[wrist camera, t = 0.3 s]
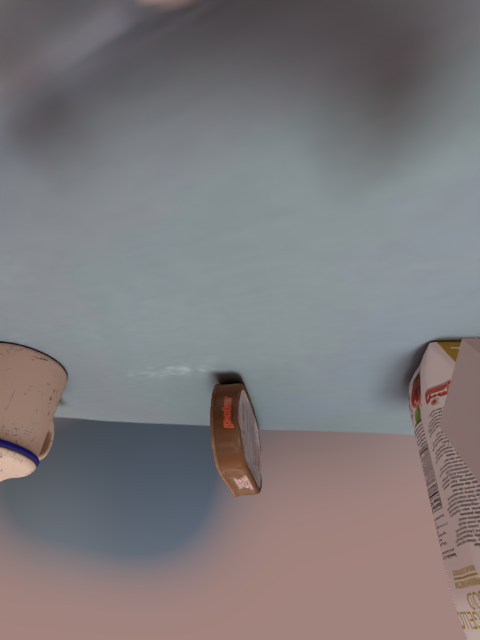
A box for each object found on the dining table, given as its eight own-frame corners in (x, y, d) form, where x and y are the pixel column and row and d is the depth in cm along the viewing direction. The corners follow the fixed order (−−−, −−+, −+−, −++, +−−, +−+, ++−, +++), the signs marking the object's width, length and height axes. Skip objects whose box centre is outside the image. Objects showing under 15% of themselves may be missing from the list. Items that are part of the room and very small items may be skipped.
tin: (211, 367, 36) (201, 460, 30) (245, 366, 35) (240, 460, 30) (240, 430, 47) (235, 505, 42) (265, 430, 47) (264, 505, 42)
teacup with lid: (-55, 342, 35) (-140, 477, 28) (33, 335, 33) (-34, 477, 26) (29, 401, 44) (-19, 513, 37) (101, 398, 42) (66, 515, 35)
